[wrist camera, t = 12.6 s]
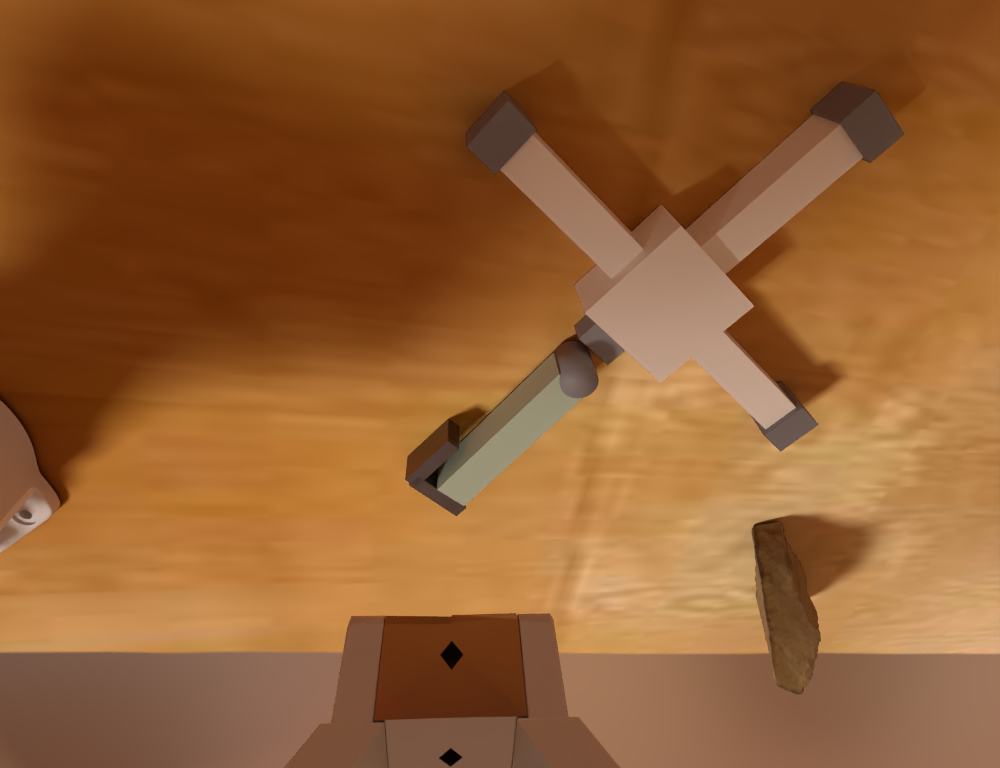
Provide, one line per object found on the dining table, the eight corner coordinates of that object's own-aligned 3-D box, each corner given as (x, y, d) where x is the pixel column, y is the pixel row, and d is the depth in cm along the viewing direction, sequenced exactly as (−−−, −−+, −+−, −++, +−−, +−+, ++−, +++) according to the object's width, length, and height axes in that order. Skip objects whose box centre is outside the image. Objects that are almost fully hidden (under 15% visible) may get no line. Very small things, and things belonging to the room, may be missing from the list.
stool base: (717, 454, 49) (737, 490, 45) (419, 186, 37) (415, 207, 34) (968, 270, 42) (1013, 295, 38) (699, -131, 30) (730, -146, 27)
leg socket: (456, 492, 49) (456, 516, 47) (405, 457, 47) (403, 481, 45) (498, 455, 47) (500, 478, 45) (448, 418, 45) (447, 441, 43)
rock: (733, 532, 50) (697, 631, 54) (844, 599, 44) (796, 704, 48) (795, 493, 57) (760, 583, 61) (898, 547, 51) (852, 642, 55)
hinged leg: (571, 333, 42) (579, 358, 39) (596, 354, 43) (606, 379, 40) (438, 463, 47) (437, 492, 44) (463, 479, 48) (464, 509, 45)
